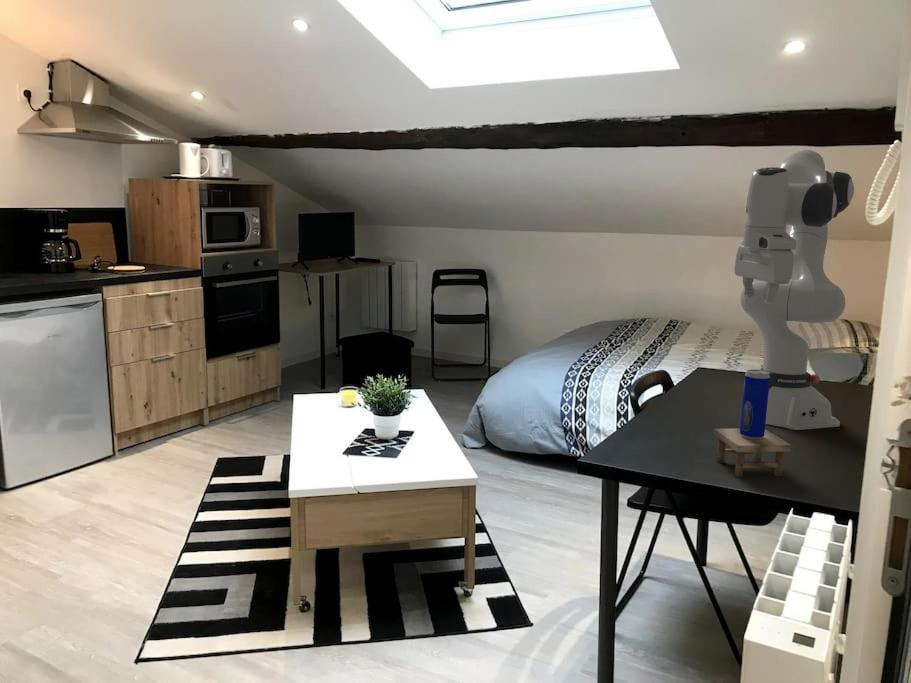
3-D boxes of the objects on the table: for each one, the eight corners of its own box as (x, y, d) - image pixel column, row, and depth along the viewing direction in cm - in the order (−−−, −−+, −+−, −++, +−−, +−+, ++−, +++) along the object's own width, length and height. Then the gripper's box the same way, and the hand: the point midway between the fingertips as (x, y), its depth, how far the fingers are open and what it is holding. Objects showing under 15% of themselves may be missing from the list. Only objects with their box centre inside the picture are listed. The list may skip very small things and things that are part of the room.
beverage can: (735, 433, 168) (741, 369, 166) (757, 432, 169) (763, 368, 166) (746, 440, 163) (752, 374, 161) (768, 440, 164) (775, 374, 161)
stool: (760, 458, 174) (763, 428, 173) (787, 477, 162) (791, 444, 161) (711, 459, 173) (714, 428, 171) (735, 478, 161) (738, 445, 160)
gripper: (730, 237, 180) (725, 293, 183) (773, 242, 160) (767, 305, 163) (755, 237, 181) (750, 293, 183) (801, 242, 161) (794, 305, 163)
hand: (758, 299), depth 173 cm, fingers open, 8 cm apart
